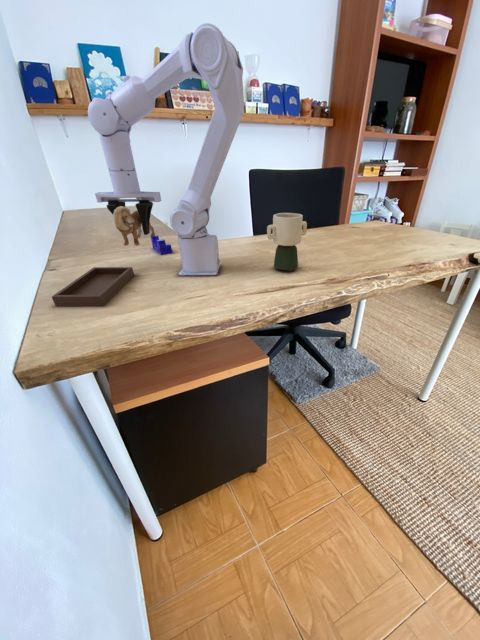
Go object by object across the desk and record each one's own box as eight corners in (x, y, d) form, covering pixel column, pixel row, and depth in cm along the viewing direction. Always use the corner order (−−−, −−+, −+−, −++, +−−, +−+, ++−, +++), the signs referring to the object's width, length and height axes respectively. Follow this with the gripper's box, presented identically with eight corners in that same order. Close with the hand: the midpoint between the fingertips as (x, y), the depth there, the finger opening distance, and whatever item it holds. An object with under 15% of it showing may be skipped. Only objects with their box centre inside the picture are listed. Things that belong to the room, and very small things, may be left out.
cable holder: (172, 253, 89) (169, 239, 87) (161, 254, 88) (158, 241, 85) (163, 247, 95) (161, 234, 92) (153, 248, 93) (150, 235, 91)
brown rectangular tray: (134, 275, 73) (132, 267, 72) (103, 306, 59) (99, 296, 58) (96, 275, 73) (93, 267, 72) (55, 306, 59) (51, 296, 58)
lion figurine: (138, 250, 68) (128, 208, 63) (115, 249, 68) (104, 207, 63) (158, 234, 80) (152, 197, 75) (139, 233, 80) (131, 197, 75)
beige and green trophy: (296, 262, 81) (299, 211, 74) (310, 269, 76) (315, 215, 69) (261, 267, 78) (260, 214, 70) (273, 276, 72) (274, 219, 65)
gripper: (159, 169, 69) (170, 230, 77) (98, 169, 69) (115, 230, 77) (150, 171, 63) (162, 236, 71) (83, 171, 63) (103, 237, 71)
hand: (137, 234), depth 73 cm, fingers closed on lion figurine, 4 cm apart
